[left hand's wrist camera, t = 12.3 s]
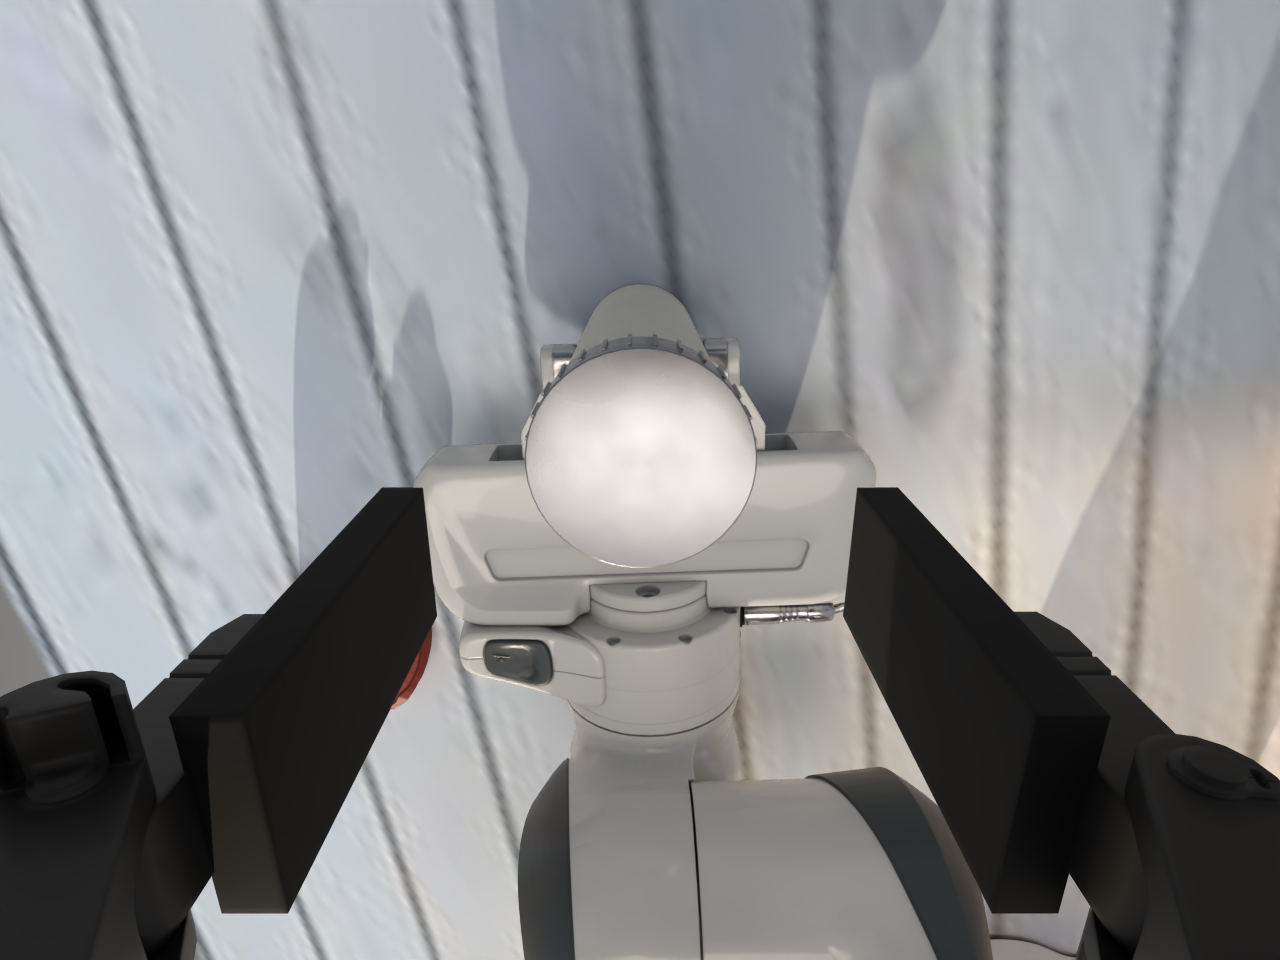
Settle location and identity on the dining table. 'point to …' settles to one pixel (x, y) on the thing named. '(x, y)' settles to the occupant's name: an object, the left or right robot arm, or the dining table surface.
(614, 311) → the bottle
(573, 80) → the dining table surface
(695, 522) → the lid
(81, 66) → the dining table surface
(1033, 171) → the dining table surface
